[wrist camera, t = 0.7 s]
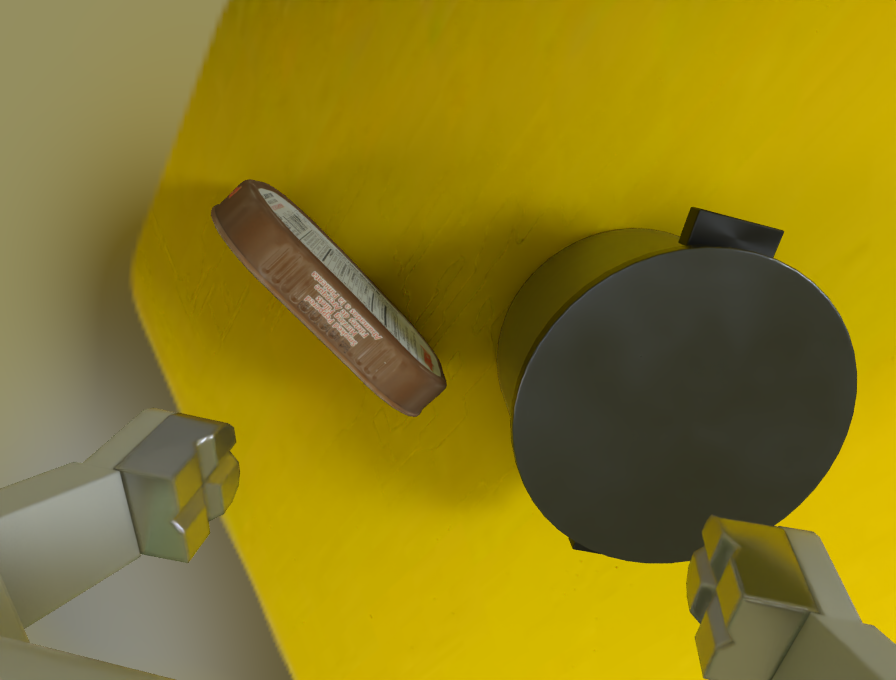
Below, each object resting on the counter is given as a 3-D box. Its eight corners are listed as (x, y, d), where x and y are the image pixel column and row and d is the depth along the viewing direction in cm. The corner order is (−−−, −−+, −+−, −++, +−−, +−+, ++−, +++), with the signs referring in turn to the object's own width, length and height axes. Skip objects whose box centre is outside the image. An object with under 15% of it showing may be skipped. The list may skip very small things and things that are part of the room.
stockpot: (538, 167, 33) (583, 177, 24) (803, 237, 35) (934, 269, 27) (455, 460, 39) (467, 553, 30) (687, 504, 41) (762, 603, 32)
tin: (235, 202, 33) (177, 222, 25) (273, 164, 32) (228, 171, 24) (414, 383, 37) (414, 449, 29) (451, 351, 37) (462, 410, 29)
